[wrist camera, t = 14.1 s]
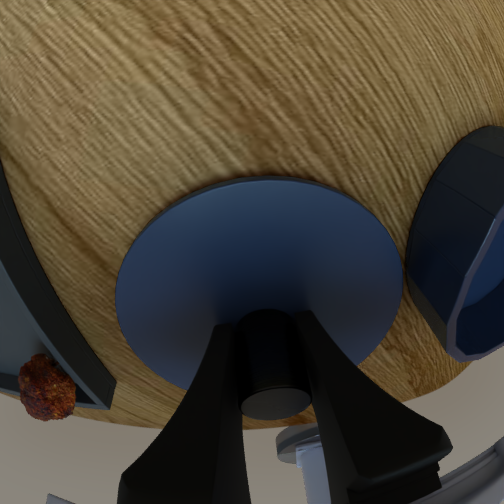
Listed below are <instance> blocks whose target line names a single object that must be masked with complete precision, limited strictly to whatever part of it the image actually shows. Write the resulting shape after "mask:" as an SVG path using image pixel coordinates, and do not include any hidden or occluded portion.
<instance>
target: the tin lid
mask: <svg viewBox="0 0 504 504" xmlns="http://www.w3.org/2000/svg"><path fill="white" fill-rule="evenodd" d="M402 290H403V271H402V265H401V260H400V256H399V253H398V251H397V248H396V245H395V243H394V241H393V240H392V238H391V236H390V235H389V233H388V231H387V229H386V228H385V227H384V226H383V225H382V224H381V223H380V221H379V220H378V219H377V218H376V217H375V216H374V215H373V214H372V213H371V212H370V211H369V210H368V209H366V208H365V207H364V206H363V205H361V204H360V203H359V202H358V201H356V200H355V199H353V198H352V197H350V196H348V195H346V194H344V193H343V192H341V191H339V190H337V189H335V188H332V187H329V186H326V185H324V184H321V183H318V182H315V181H310V180H306V179H300V178H295V177H287V176H267V175H265V176H254V177H243V178H237V179H233V180H228V181H224V182H220V183H216V184H213V185H210V186H208V187H205V188H202V189H200V190H197V191H195V192H192V193H190V194H188V195H187V196H185V197H183V198H181V199H180V200H178V201H176V202H174V203H173V204H171V205H169V206H168V207H167V208H166V209H164V210H163V211H162V212H161V213H159V214H158V215H157V216H156V217H154V218H153V219H152V220H151V221H150V222H149V223H148V224H147V226H146V227H145V228H144V229H143V230H142V231H141V232H140V233H139V235H138V236H137V238H136V239H135V241H134V242H133V244H132V245H131V247H130V249H129V250H128V252H127V254H126V256H125V258H124V260H123V263H122V265H121V268H120V270H119V273H118V278H117V283H116V288H115V306H116V312H117V318H118V321H119V324H120V327H121V330H122V333H123V335H124V337H125V338H126V340H127V342H128V344H129V345H130V347H131V348H132V350H133V351H134V352H135V354H136V355H137V356H138V357H139V358H140V359H141V360H142V361H143V363H144V364H145V365H146V366H148V367H149V368H150V369H151V370H152V371H154V372H155V373H156V374H158V375H159V376H161V377H162V378H164V379H165V380H167V381H168V382H170V383H172V384H174V385H176V386H178V387H180V388H182V389H185V390H187V391H188V389H189V387H190V385H191V383H192V381H193V379H194V377H195V375H196V373H197V370H198V368H199V366H200V363H201V361H202V359H203V356H204V354H205V351H206V349H207V346H208V343H209V340H210V337H211V334H212V331H213V327H214V326H215V325H219V324H226V323H231V324H232V327H233V331H234V334H235V348H236V374H237V395H238V408H239V410H240V412H241V413H242V414H243V415H245V416H247V417H249V418H252V419H257V420H278V419H284V418H288V417H291V416H294V415H296V414H298V413H300V412H302V411H303V410H305V409H306V408H307V407H308V406H309V405H310V404H311V402H312V399H313V395H312V391H311V387H310V382H309V378H308V374H307V370H306V366H305V362H304V358H303V354H302V350H301V347H300V343H299V339H298V335H297V331H296V327H295V314H294V313H296V312H302V311H307V310H311V311H313V313H314V314H315V316H316V317H317V319H318V321H319V322H320V323H321V325H322V326H323V328H324V329H325V330H326V332H327V333H328V334H329V336H330V337H331V338H332V339H333V341H334V342H335V343H336V344H337V345H338V346H339V348H340V349H341V350H342V351H343V352H344V353H345V355H346V356H347V357H348V358H349V359H350V360H351V361H352V362H353V363H354V364H355V365H356V366H357V365H358V364H360V363H361V362H362V361H363V360H364V359H365V358H366V357H367V356H368V355H369V354H370V353H371V352H372V351H373V350H374V349H375V348H376V347H377V346H378V345H379V343H380V342H381V341H382V340H383V338H384V337H385V335H386V334H387V332H388V330H389V329H390V327H391V325H392V323H393V321H394V319H395V317H396V314H397V311H398V308H399V305H400V302H401V296H402Z"/></svg>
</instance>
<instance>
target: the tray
mask: <svg viewBox="0 0 504 504" xmlns="http://www.w3.org/2000/svg"><path fill="white" fill-rule="evenodd" d="M38 353H39V354H40V353H41V354H42V353H44V354H46V355H47V356H48V357H49V358H50V359H51V358H52V359H54V360H55V362H57V361H58V362H59V364H60V365H58V364H57V366H55V368H56V369H57V368H59V366H61V367H60V368H59V370H60V371H61V372H62V371H63V370H64V371H63V372H64V373H65V372H66V374H69V375H70V376H71V378H72V380H73V381H74V383H75V386H76V390H75V396H76V399H75V406H76V407H83V408H92V409H102V410H110V407H111V403H112V399H113V395H114V391H115V387H116V383H117V382H116V381H115V380H114V379H113V377H112V376H111V375H110V374H109V372H108V371H107V370H106V368H105V367H104V366H103V365H102V363H101V362H100V361H99V359H98V358H97V357H96V355H95V354H94V353H93V351H92V350H91V348H90V347H89V346H88V344H87V343H86V341H85V340H84V338H83V337H82V336H81V334H80V333H79V331H78V330H77V328H76V327H75V325H74V323H73V322H72V320H71V319H70V317H69V316H68V314H67V312H66V311H65V309H64V307H63V306H62V304H61V302H60V301H59V299H58V297H57V296H56V294H55V292H54V290H53V289H52V287H51V285H50V283H49V281H48V279H47V278H46V276H45V274H44V272H43V270H42V268H41V266H40V264H39V262H38V260H37V258H36V256H35V254H34V252H33V249H32V247H31V245H30V243H29V241H28V238H27V236H26V234H25V231H24V229H23V227H22V224H21V222H20V219H19V217H18V214H17V211H16V209H15V206H14V203H13V201H12V198H11V195H10V192H9V189H8V186H7V183H6V180H5V176H4V173H3V170H2V166H1V162H0V391H2V392H5V393H9V394H13V395H17V396H20V392H21V389H20V388H19V386H20V384H19V381H18V377H19V372H20V368H21V366H24V363H27V362H28V361H31V356H33V355H35V354H38ZM56 360H57V361H56ZM53 364H54V363H53ZM61 368H62V370H61Z"/></svg>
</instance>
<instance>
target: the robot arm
mask: <svg viewBox="0 0 504 504" xmlns="http://www.w3.org/2000/svg"><path fill="white" fill-rule="evenodd" d="M294 314H295V327H296V331H297V335H298V339H299V343H300V347H301V350H302V354H303V358H304V362H305V366H306V370H307V374H308V378H309V382H310V387H311V391H312V395H313V399H312V405H313V409H314V412H315V415H316V419H317V423H318V427H319V432H320V437H321V440H319V441H315V442H310V443H305V444H299V445H297V446H296V447H295V448H296V465H297V467H302V472H303V478H304V484H305V490H306V496H307V502H308V504H500V503H501V502H502V501H503V500H504V437H502V438H501V439H500V440H498V441H497V442H496V443H495V444H494V445H493V446H491V447H490V448H489V449H487V450H486V451H484V452H483V453H481V454H480V455H478V456H476V457H475V458H473V459H472V460H470V461H468V462H467V463H465V464H464V465H462V466H460V467H458V468H457V469H455V470H453V471H451V472H450V473H448V474H446V475H444V476H443V477H440V478H439V476H438V473H437V471H439V470H440V467H439V464H438V461H440V460H441V459H442V458H444V457H445V456H446V455H448V454H449V453H450V452H451V451H452V449H453V446H452V444H451V441H450V439H449V437H448V435H447V434H446V432H445V430H444V429H443V427H442V426H440V425H438V424H436V423H434V422H432V421H430V420H428V419H426V418H425V417H423V416H421V415H419V414H418V413H416V412H414V411H413V410H411V409H409V408H408V407H406V406H405V405H403V404H402V403H401V402H399V401H398V400H396V399H395V398H393V397H392V396H391V395H389V394H388V393H386V392H385V391H384V390H383V389H381V388H380V387H379V386H378V385H377V384H375V383H374V382H373V381H372V380H371V379H370V378H368V377H367V376H366V375H365V374H364V373H363V372H362V371H361V370H360V369H359V368H358V367H357V366H356V365H355V364H354V363H353V362H352V361H351V360H350V359H349V358H348V357H347V356H346V355H345V353H344V352H343V351H342V350H341V349H340V348H339V346H338V345H337V344H336V343H335V342H334V341H333V339H332V338H331V337H330V336H329V334H328V333H327V332H326V330H325V329H324V328H323V326H322V325H321V323H320V322H319V321H318V319H317V317H316V316H315V314H314V313H313V311H311V310H307V311H302V312H296V313H294ZM46 504H75V503H72V502H70V501H67V500H64V499H62V498H59V497H57V496H54V495H52V494H48V495H47V502H46ZM117 504H251V499H250V493H249V485H248V478H247V471H246V463H245V454H244V444H243V432H242V413H241V412H240V410H239V408H238V395H237V374H236V348H235V334H234V331H233V327H232V324H231V323H226V324H219V325H215V326H214V327H213V331H212V334H211V337H210V340H209V343H208V346H207V349H206V351H205V354H204V356H203V359H202V361H201V363H200V366H199V368H198V370H197V373H196V375H195V377H194V379H193V381H192V383H191V385H190V387H189V389H188V391H187V393H186V394H185V396H184V398H183V400H182V401H181V403H180V405H179V406H178V408H177V410H176V411H175V413H174V414H173V416H172V417H171V419H170V420H169V421H168V423H167V424H166V426H165V427H164V429H163V430H162V431H161V432H160V434H159V435H158V436H157V437H156V439H155V440H154V441H153V442H152V443H151V444H150V446H149V447H148V448H147V449H146V450H145V451H144V453H143V454H142V455H141V456H140V457H139V458H138V459H137V460H136V461H135V462H134V463H133V464H132V465H130V467H128V468H127V469H126V470H125V471H124V472H123V473H122V475H121V480H120V483H119V488H118V498H117Z"/></svg>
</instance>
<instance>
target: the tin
mask: <svg viewBox="0 0 504 504" xmlns="http://www.w3.org/2000/svg"><path fill="white" fill-rule="evenodd" d="M406 278H407V285H408V288H409V291H410V294H411V296H412V299H413V302H414V304H415V306H416V307H417V308H418V310H419V311H420V313H421V314H422V316H423V317H424V319H425V320H426V322H427V323H428V325H429V326H430V328H431V329H432V331H433V332H434V334H435V335H436V337H437V339H438V340H439V342H440V343H441V345H442V347H443V348H444V350H445V351H446V353H447V354H449V355H450V356H451V357H453V358H454V359H455V360H456V361H458V362H460V363H461V362H467V361H473V360H479V359H481V358H483V357H485V356H487V355H488V354H490V353H492V352H494V351H495V350H497V349H499V348H501V347H502V346H504V127H501V126H488V127H483V128H480V129H478V130H476V131H473V132H472V133H470V134H469V135H467V136H466V137H464V138H463V139H462V140H461V141H460V142H459V143H458V144H457V145H456V146H454V148H453V149H452V150H451V151H450V152H449V154H448V155H447V156H446V157H445V158H444V160H443V161H442V163H441V164H440V166H439V167H438V169H437V170H436V172H435V173H434V175H433V177H432V179H431V180H430V182H429V184H428V186H427V188H426V190H425V192H424V194H423V197H422V199H421V201H420V204H419V206H418V209H417V212H416V214H415V217H414V220H413V224H412V227H411V231H410V235H409V240H408V245H407V253H406Z"/></svg>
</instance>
